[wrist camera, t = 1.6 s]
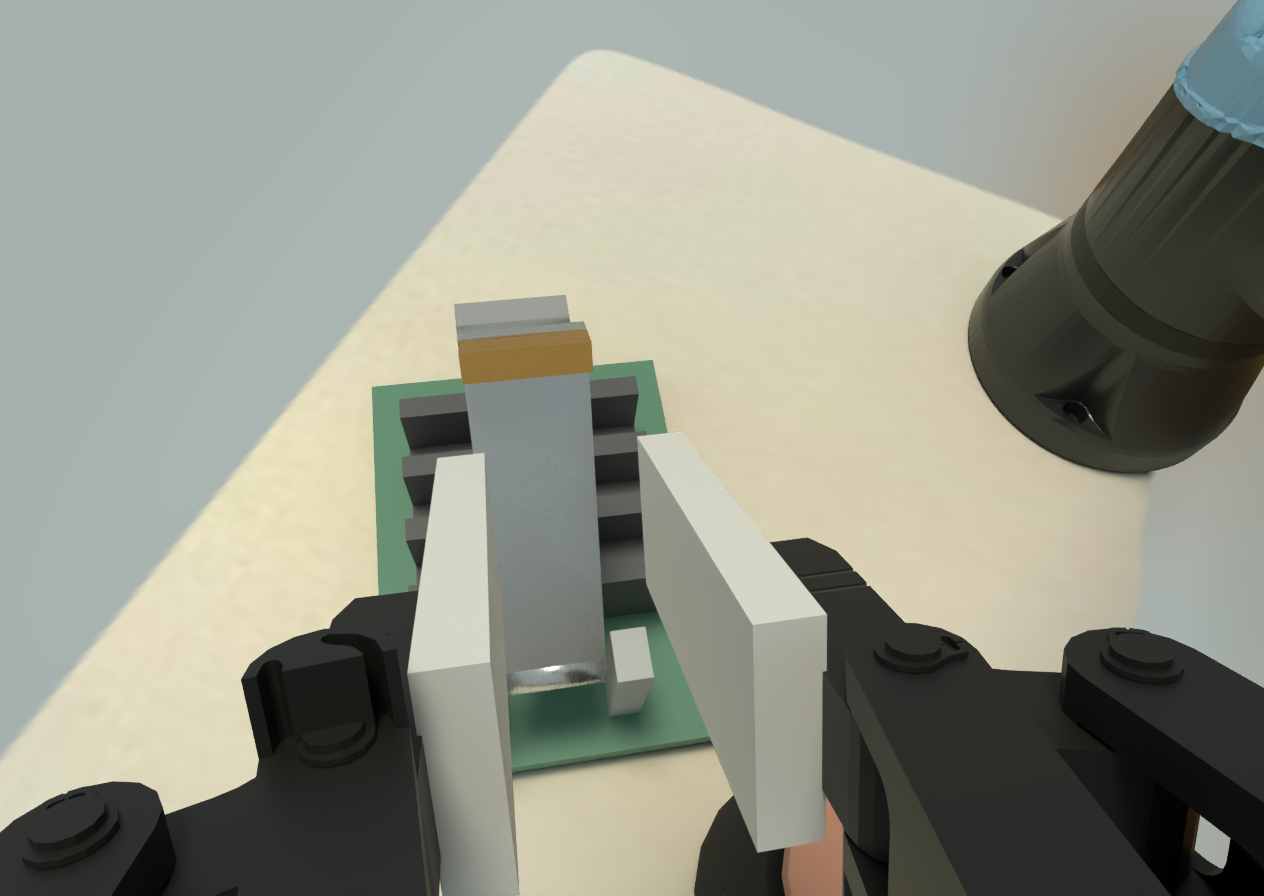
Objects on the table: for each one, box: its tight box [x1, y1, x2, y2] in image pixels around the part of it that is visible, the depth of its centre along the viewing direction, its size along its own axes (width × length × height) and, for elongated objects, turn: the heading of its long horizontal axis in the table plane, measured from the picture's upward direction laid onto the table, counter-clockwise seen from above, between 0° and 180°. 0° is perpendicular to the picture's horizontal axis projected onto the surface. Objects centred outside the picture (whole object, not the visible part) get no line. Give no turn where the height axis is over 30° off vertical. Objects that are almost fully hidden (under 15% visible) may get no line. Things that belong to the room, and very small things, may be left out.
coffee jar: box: [694, 795, 843, 896], centre depth 30 cm, size 11×11×18 cm
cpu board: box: [372, 295, 711, 773], centre depth 40 cm, size 15×20×10 cm
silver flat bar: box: [459, 321, 607, 696], centre depth 31 cm, size 4×15×2 cm
